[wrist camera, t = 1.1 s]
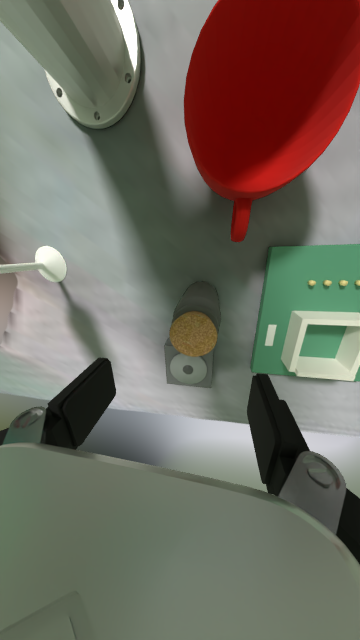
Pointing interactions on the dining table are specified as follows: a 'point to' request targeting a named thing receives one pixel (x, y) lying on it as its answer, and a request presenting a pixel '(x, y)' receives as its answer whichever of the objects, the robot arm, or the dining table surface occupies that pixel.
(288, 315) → the board
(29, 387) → the dining table surface
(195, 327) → the bottle
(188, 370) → the speaker
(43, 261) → the champagne flute
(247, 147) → the ceramic cup
